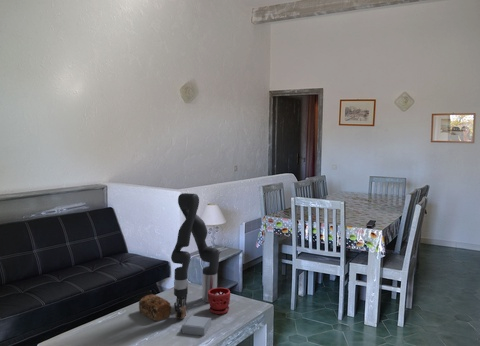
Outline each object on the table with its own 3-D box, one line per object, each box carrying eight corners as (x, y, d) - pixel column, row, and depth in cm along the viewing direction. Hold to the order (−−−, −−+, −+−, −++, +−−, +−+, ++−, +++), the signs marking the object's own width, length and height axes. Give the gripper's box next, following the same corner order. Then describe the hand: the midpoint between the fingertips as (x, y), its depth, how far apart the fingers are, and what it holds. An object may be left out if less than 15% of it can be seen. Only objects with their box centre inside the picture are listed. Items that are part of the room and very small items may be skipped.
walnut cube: (178, 314, 221) (178, 305, 220) (185, 315, 220) (186, 306, 219) (175, 317, 216) (175, 309, 216) (183, 318, 215) (183, 310, 215)
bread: (171, 317, 219) (171, 300, 219) (154, 323, 212) (155, 305, 211) (154, 307, 233) (154, 290, 232) (137, 311, 226) (138, 295, 225)
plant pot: (231, 306, 235) (231, 287, 235) (228, 316, 222) (228, 295, 222) (209, 305, 237) (210, 286, 236) (205, 314, 224) (206, 294, 223)
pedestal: (190, 322, 213) (190, 315, 213) (211, 325, 211) (211, 317, 211) (182, 332, 202) (182, 324, 201) (204, 335, 199) (204, 327, 199)
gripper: (179, 281, 224) (179, 309, 226) (169, 290, 210) (169, 320, 212) (191, 282, 223) (191, 311, 224) (182, 291, 209) (182, 322, 210)
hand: (180, 315), depth 218 cm, fingers closed on walnut cube, 4 cm apart
